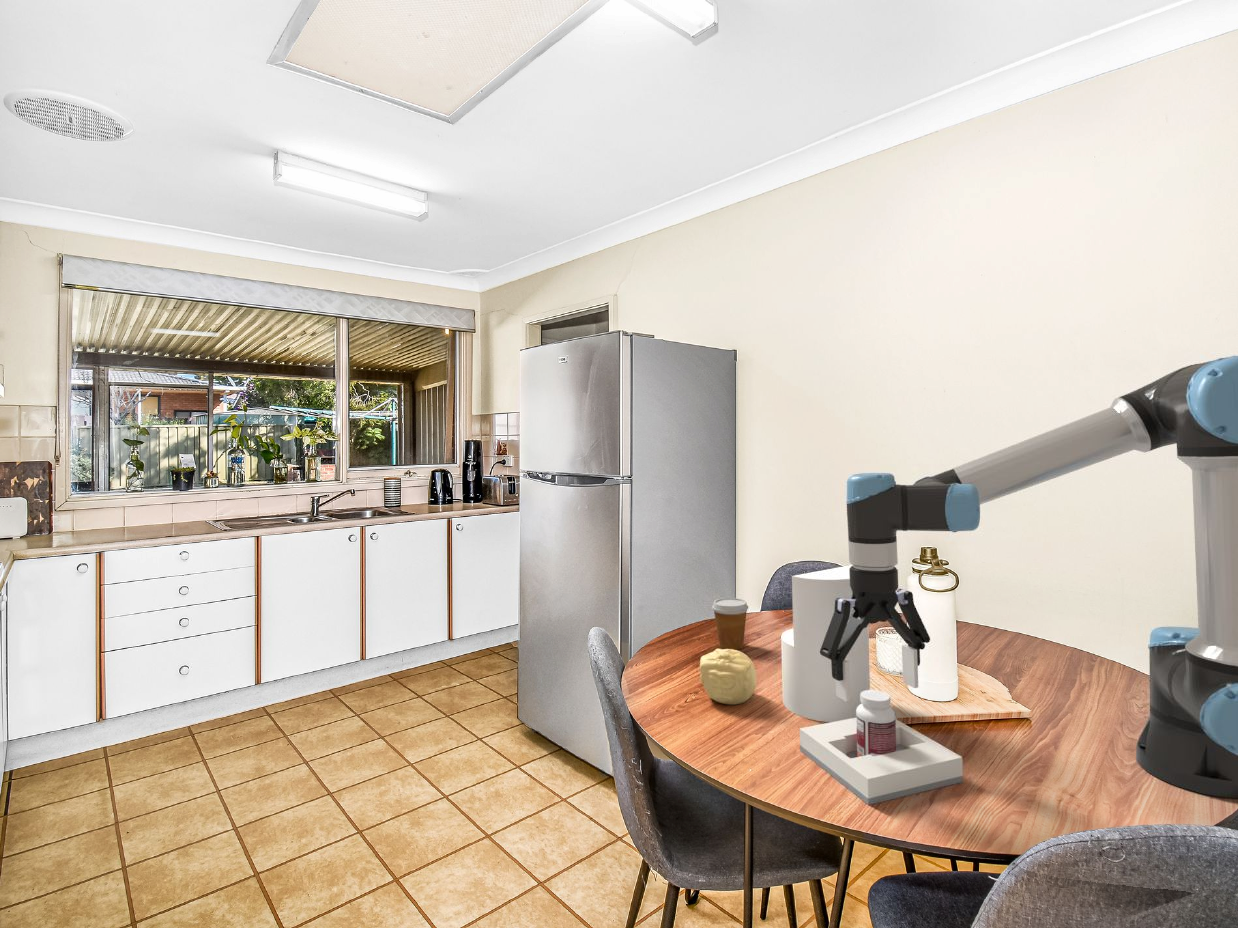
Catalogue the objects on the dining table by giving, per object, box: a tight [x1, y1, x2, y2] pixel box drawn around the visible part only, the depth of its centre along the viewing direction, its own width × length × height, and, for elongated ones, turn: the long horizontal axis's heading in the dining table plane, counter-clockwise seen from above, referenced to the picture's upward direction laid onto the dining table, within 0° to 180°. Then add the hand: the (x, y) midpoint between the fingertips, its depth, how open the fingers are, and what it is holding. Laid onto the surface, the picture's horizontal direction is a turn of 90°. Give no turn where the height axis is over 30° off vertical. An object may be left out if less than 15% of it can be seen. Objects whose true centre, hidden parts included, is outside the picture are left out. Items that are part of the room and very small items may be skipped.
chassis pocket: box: [799, 718, 964, 806], centre depth 107 cm, size 18×18×4 cm
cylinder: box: [780, 564, 871, 723], centre depth 132 cm, size 17×17×28 cm
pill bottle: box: [856, 689, 897, 757], centre depth 107 cm, size 6×6×11 cm
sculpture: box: [699, 648, 758, 705], centre depth 137 cm, size 12×12×11 cm
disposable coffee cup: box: [712, 597, 749, 651], centre depth 170 cm, size 10×10×12 cm
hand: (877, 691), depth 107 cm, fingers open, 13 cm apart
